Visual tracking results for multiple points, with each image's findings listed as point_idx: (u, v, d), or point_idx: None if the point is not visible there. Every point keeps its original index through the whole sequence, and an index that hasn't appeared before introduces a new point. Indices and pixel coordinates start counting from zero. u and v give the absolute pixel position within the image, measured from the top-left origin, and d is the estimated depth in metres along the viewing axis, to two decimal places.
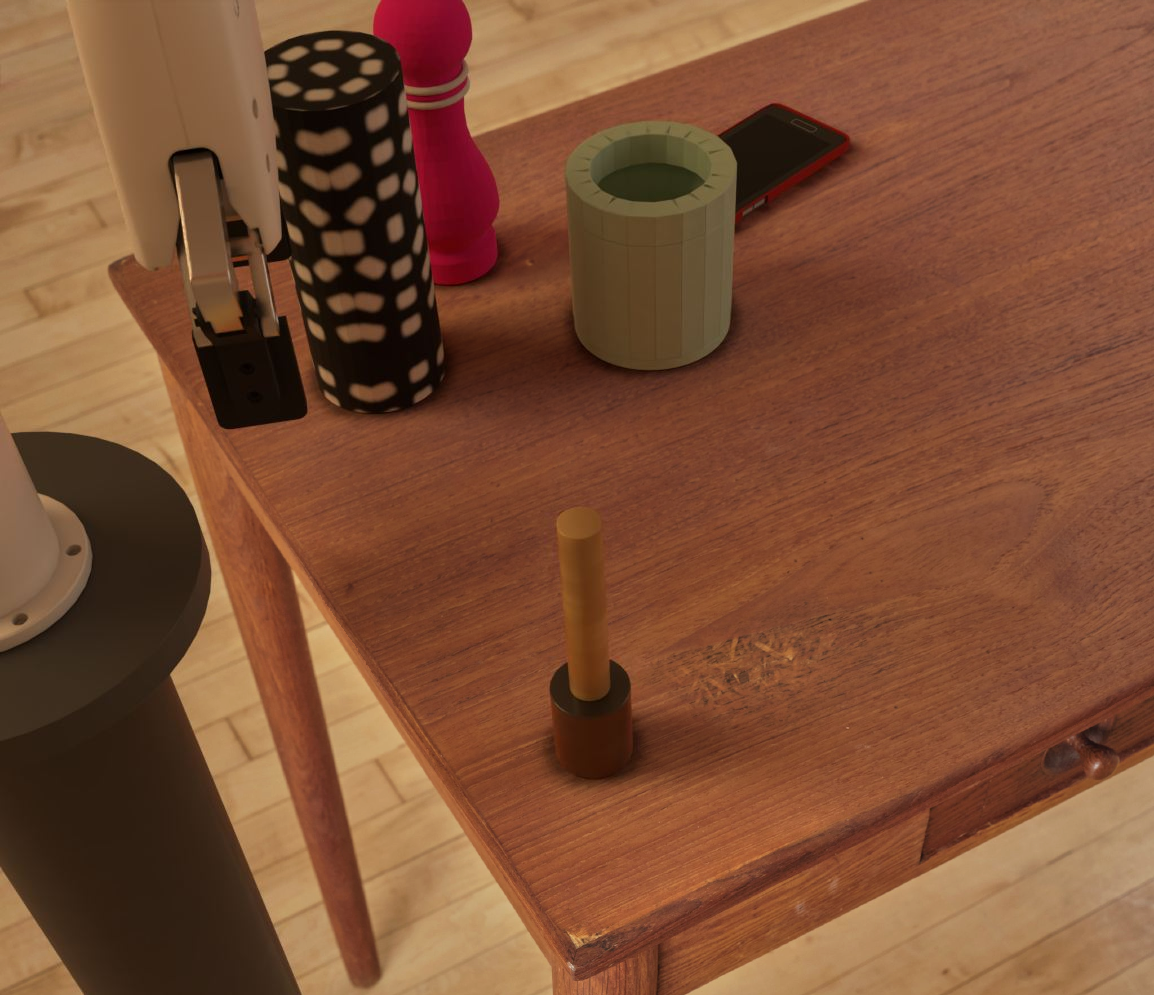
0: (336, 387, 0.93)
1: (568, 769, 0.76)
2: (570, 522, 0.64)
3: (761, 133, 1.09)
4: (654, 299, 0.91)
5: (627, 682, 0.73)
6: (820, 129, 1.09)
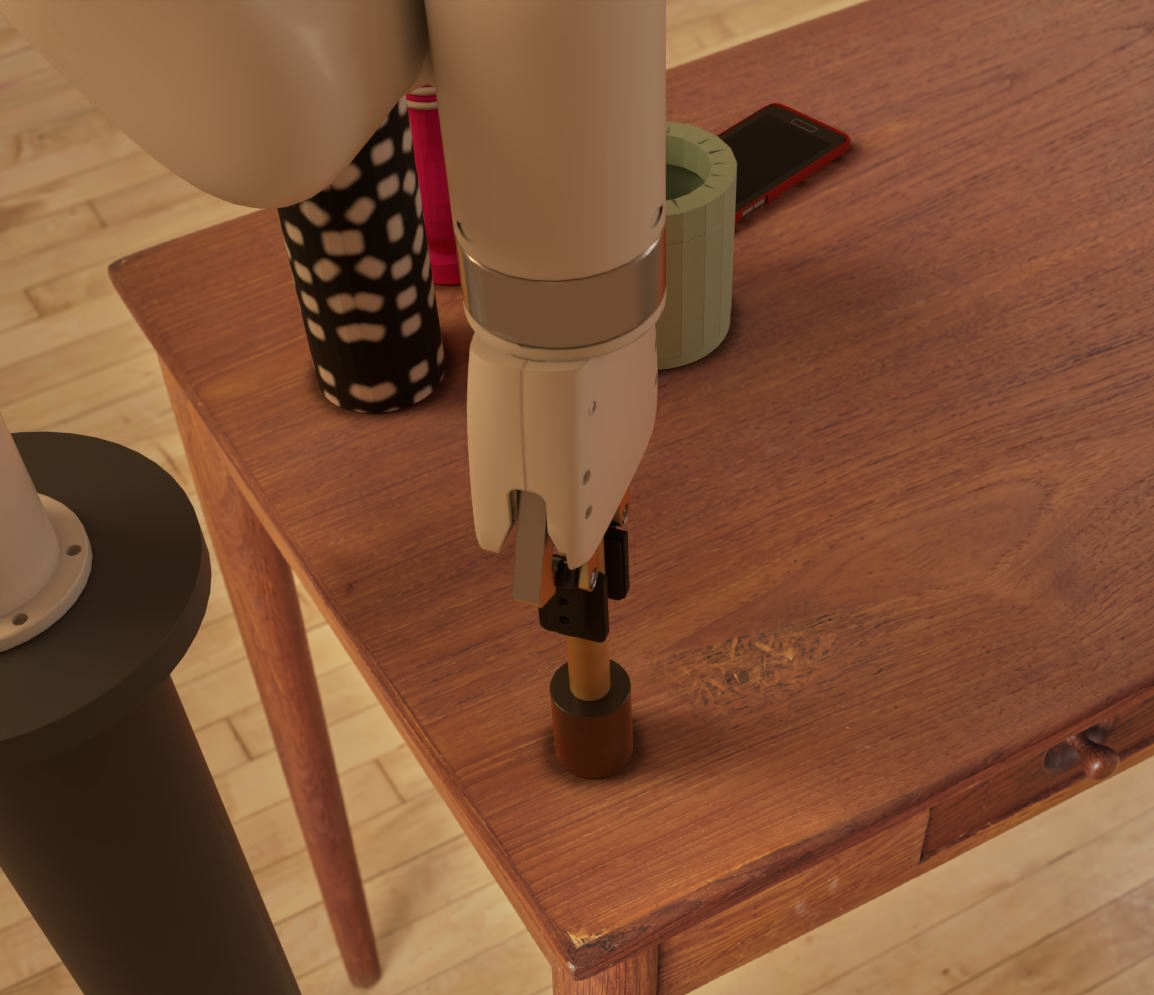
0: (336, 387, 0.93)
1: (568, 769, 0.76)
2: None
3: (761, 133, 1.09)
4: None
5: (627, 682, 0.73)
6: (820, 129, 1.09)
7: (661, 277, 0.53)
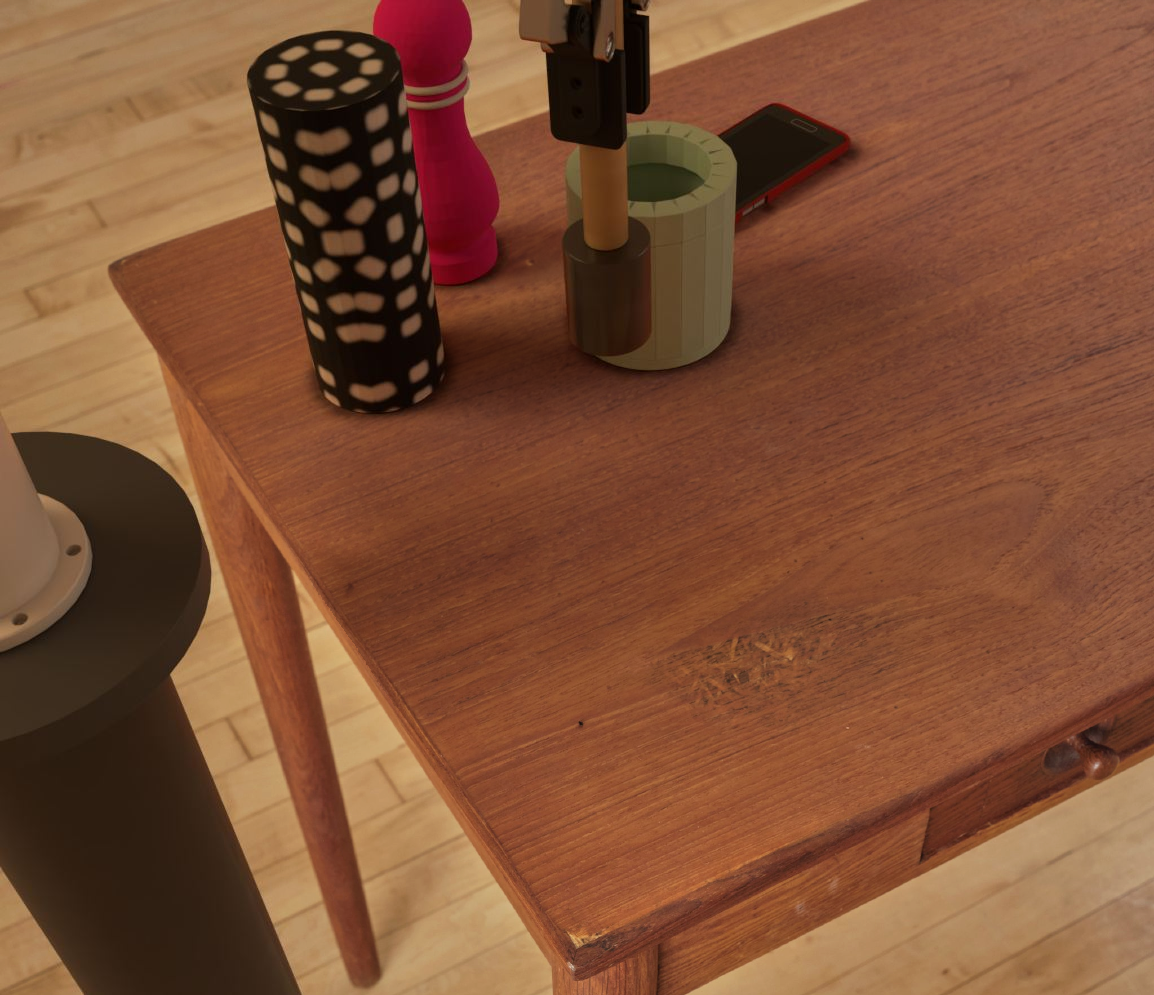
0: (336, 387, 0.93)
1: (581, 347, 0.70)
2: None
3: (761, 133, 1.09)
4: (654, 299, 0.91)
5: (647, 235, 0.67)
6: (820, 129, 1.09)
7: None
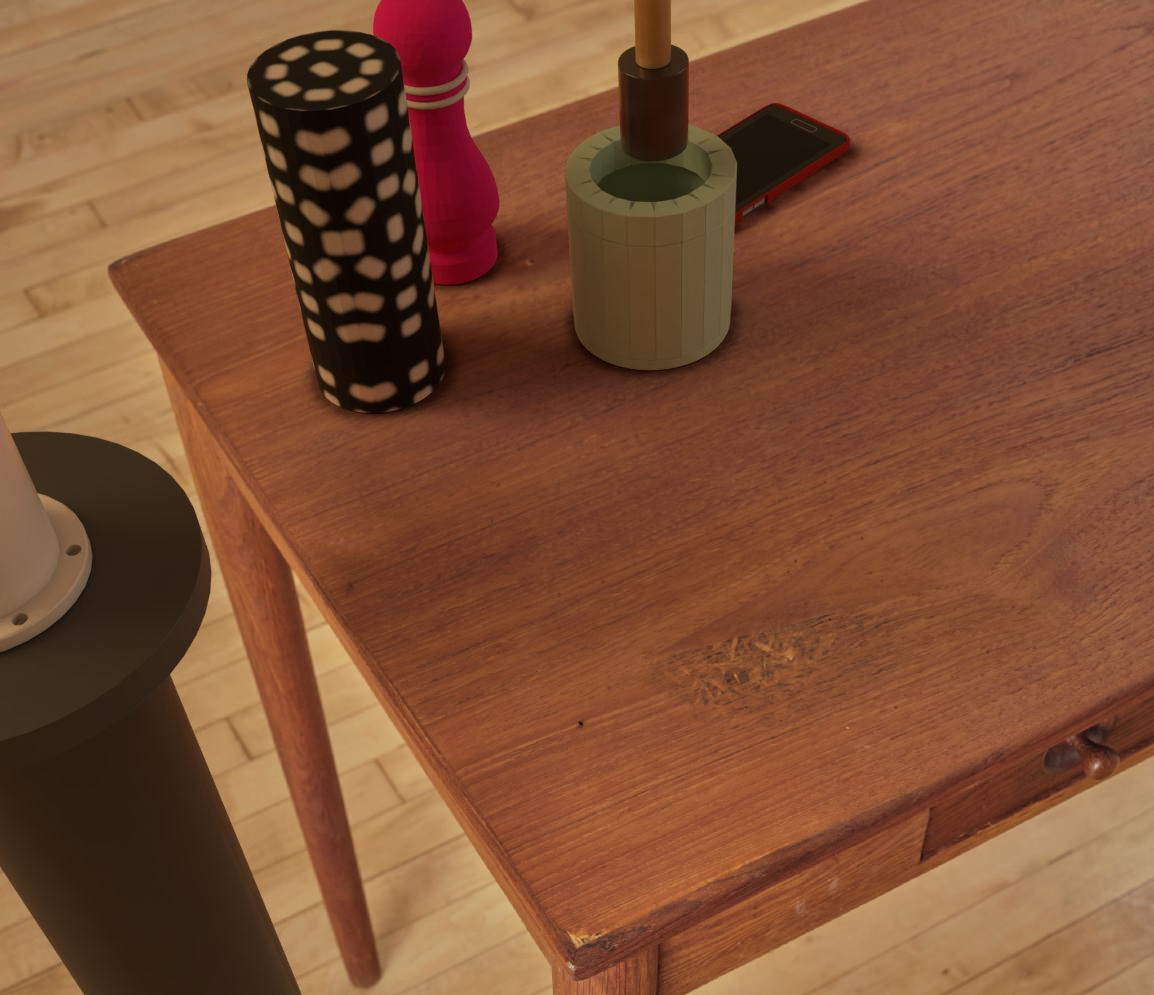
0: (336, 387, 0.93)
1: (632, 154, 0.87)
2: None
3: (761, 133, 1.09)
4: (654, 299, 0.91)
5: (685, 57, 0.84)
6: (820, 129, 1.09)
7: None
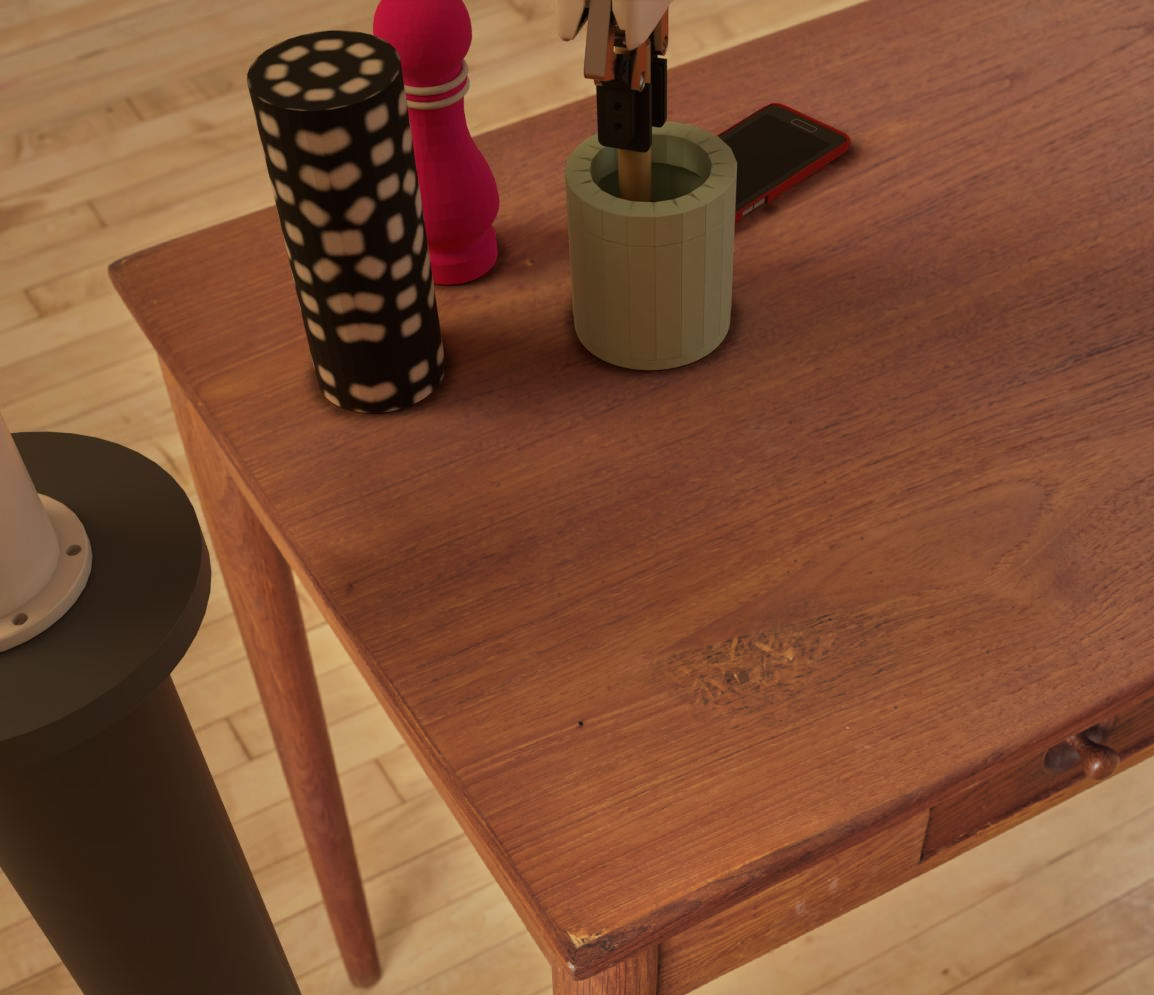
0: (336, 387, 0.93)
1: None
2: None
3: (761, 133, 1.09)
4: (654, 299, 0.91)
5: None
6: (820, 129, 1.09)
7: None
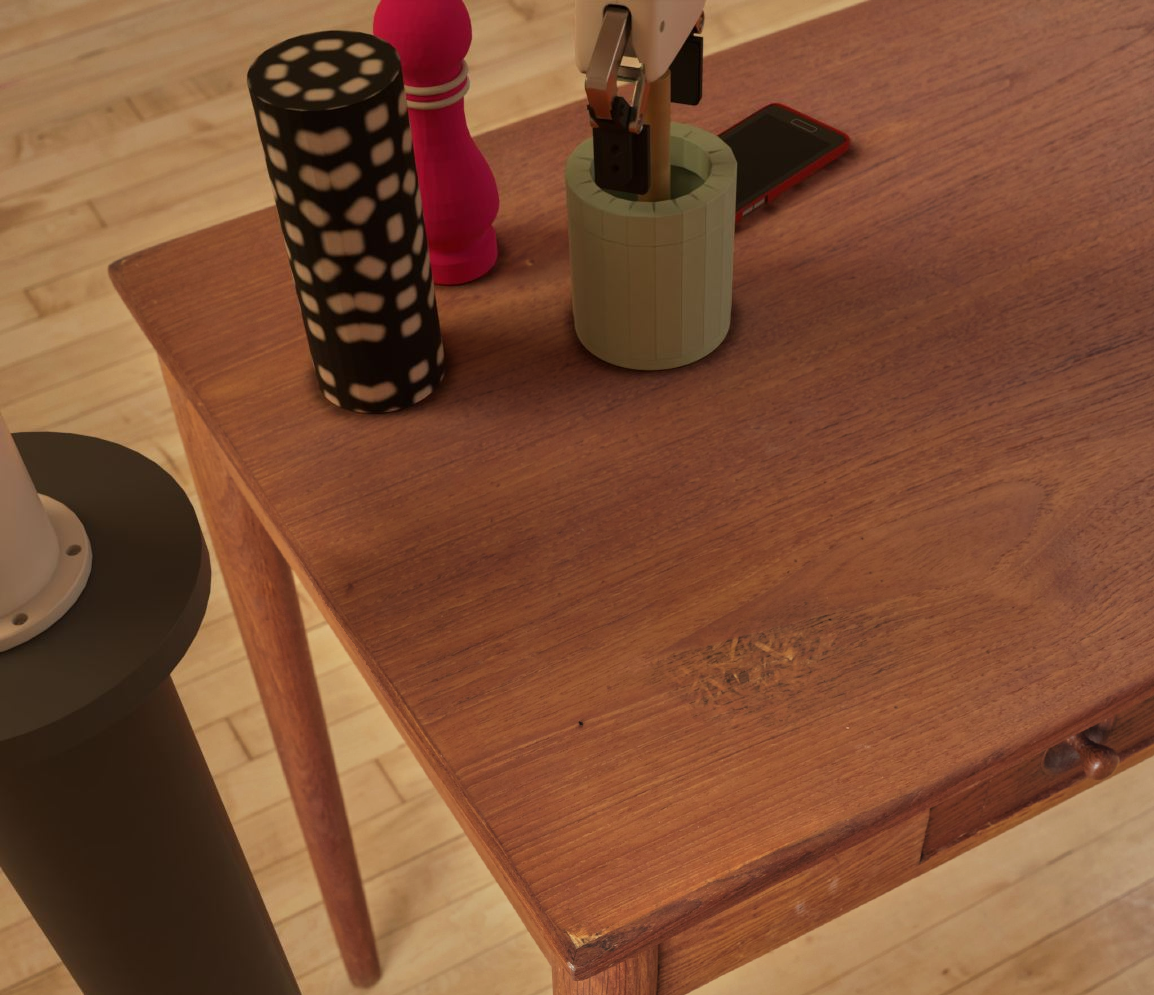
0: (336, 387, 0.93)
1: None
2: None
3: (761, 133, 1.09)
4: (654, 299, 0.91)
5: None
6: (820, 129, 1.09)
7: None
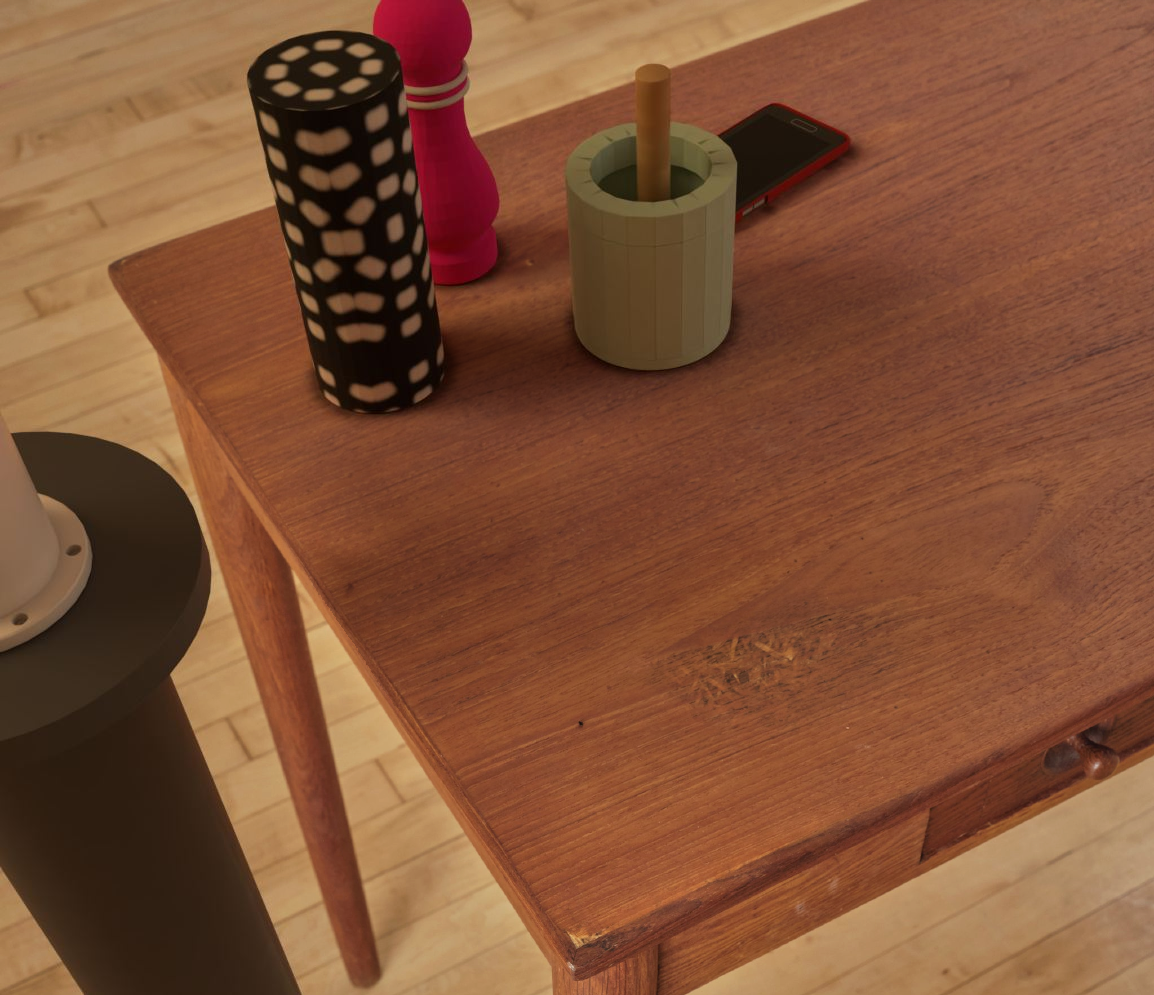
0: (336, 387, 0.93)
1: None
2: (646, 72, 0.85)
3: (761, 133, 1.09)
4: (654, 299, 0.91)
5: None
6: (820, 129, 1.09)
7: None
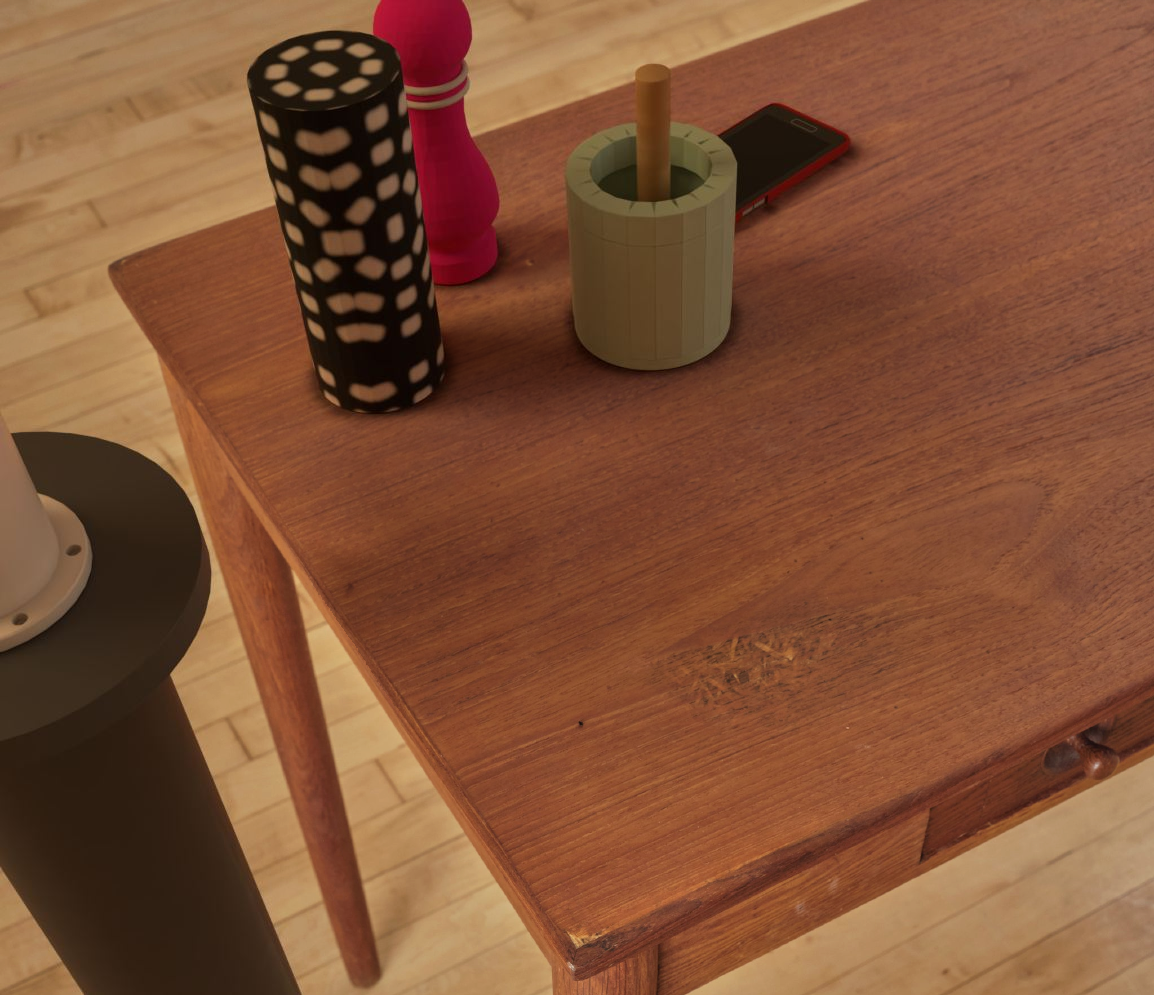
0: (336, 387, 0.93)
1: None
2: (646, 72, 0.85)
3: (761, 133, 1.09)
4: (654, 299, 0.91)
5: None
6: (820, 129, 1.09)
7: None
